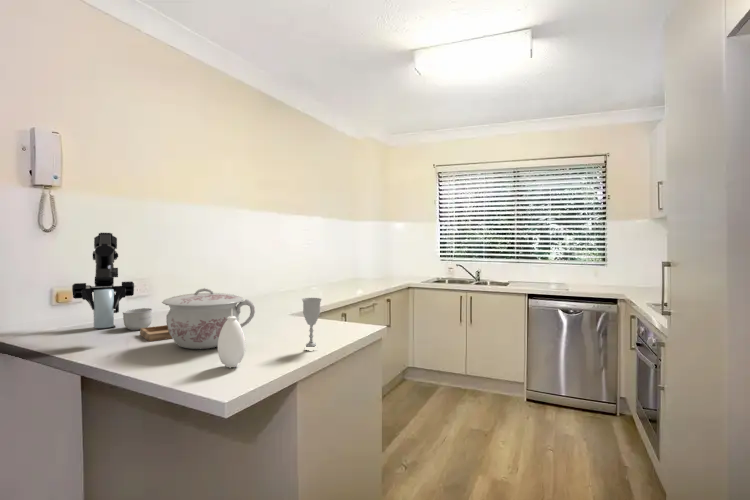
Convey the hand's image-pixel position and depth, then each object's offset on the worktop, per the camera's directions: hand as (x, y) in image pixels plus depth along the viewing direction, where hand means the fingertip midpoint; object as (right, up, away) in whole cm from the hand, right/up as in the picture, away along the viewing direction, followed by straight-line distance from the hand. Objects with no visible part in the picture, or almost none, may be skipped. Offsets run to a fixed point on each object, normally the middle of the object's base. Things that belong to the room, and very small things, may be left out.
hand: (103, 308), depth 147 cm
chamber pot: (+34, -14, +4) cm, 37 cm away
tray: (+12, -13, +17) cm, 24 cm away
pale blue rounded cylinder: (-1, -7, +1) cm, 7 cm away
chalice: (+73, -15, +1) cm, 75 cm away
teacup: (-5, -13, +31) cm, 33 cm away
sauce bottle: (+52, -15, -21) cm, 58 cm away
